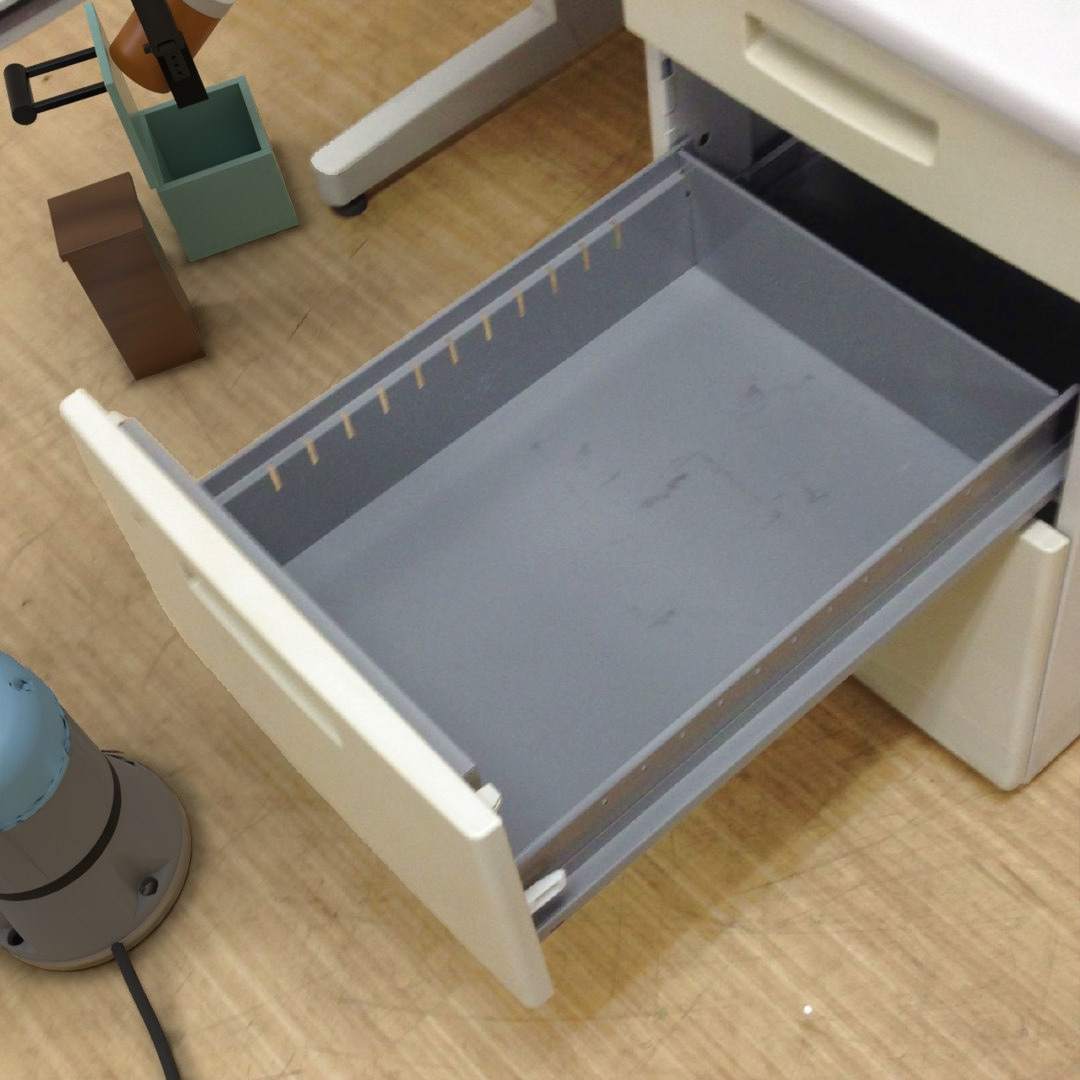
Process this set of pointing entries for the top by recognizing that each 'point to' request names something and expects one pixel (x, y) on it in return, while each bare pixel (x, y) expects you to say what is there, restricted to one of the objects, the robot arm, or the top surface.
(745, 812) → the top surface
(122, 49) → the amber jar
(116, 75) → the teal box lid
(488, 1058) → the top surface
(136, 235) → the plinth
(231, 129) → the teal open box
